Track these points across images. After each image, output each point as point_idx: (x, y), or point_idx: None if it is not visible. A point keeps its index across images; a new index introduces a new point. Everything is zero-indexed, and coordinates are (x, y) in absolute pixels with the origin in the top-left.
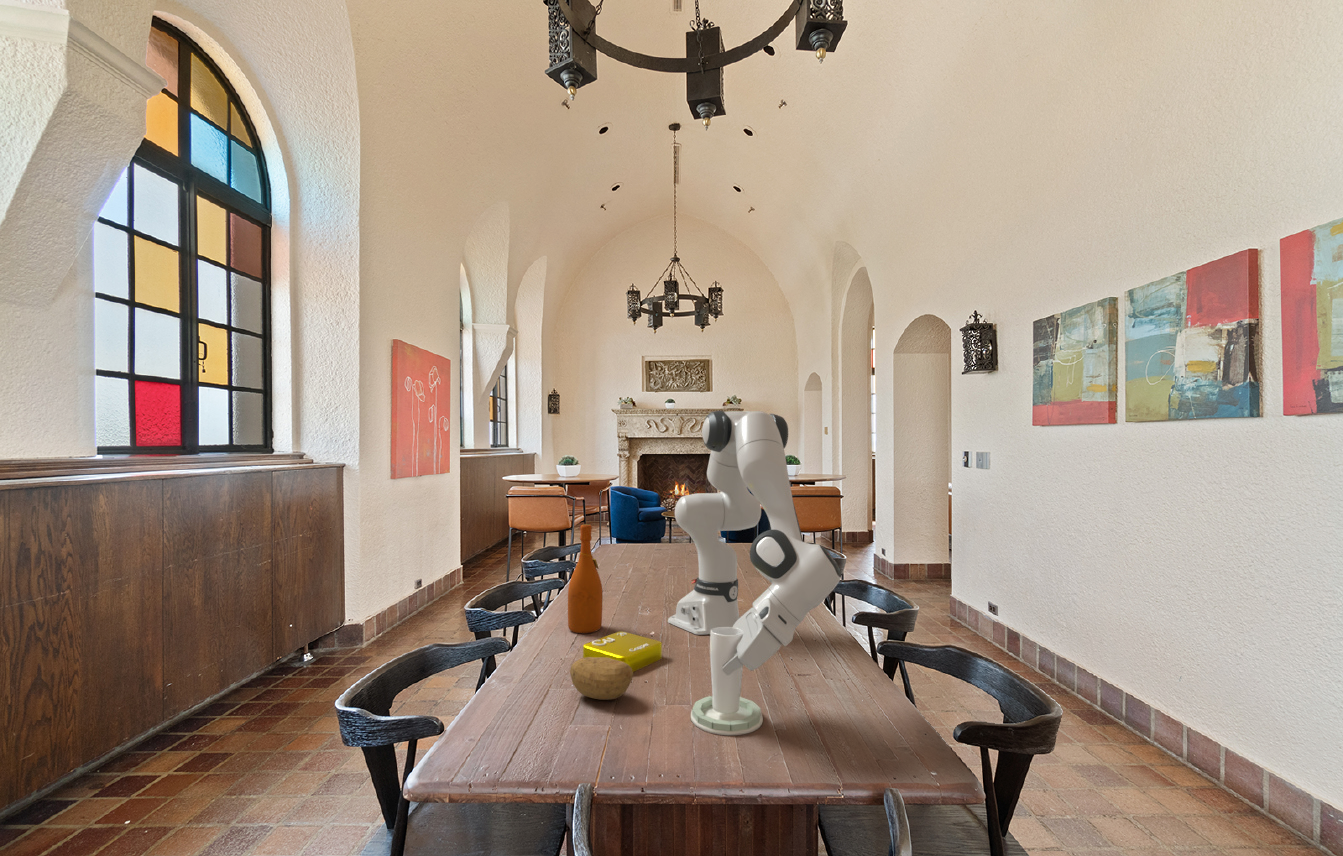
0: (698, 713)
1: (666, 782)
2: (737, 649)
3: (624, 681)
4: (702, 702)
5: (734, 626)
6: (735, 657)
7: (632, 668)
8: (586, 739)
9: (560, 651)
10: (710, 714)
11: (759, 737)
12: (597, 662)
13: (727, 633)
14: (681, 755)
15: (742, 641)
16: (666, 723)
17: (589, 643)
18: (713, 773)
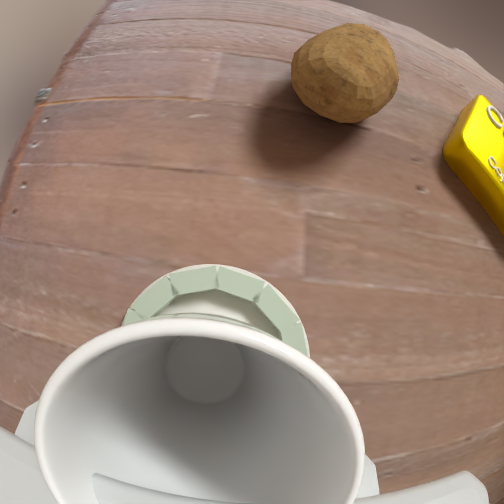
0: (188, 279)
1: (8, 193)
2: (4, 437)
3: (310, 91)
4: (260, 302)
5: (440, 496)
6: (23, 414)
7: (458, 168)
8: (162, 73)
9: (481, 93)
10: None
11: None
12: (350, 36)
13: (328, 473)
14: (61, 222)
15: (20, 495)
16: (198, 203)
17: (489, 104)
18: (6, 272)
